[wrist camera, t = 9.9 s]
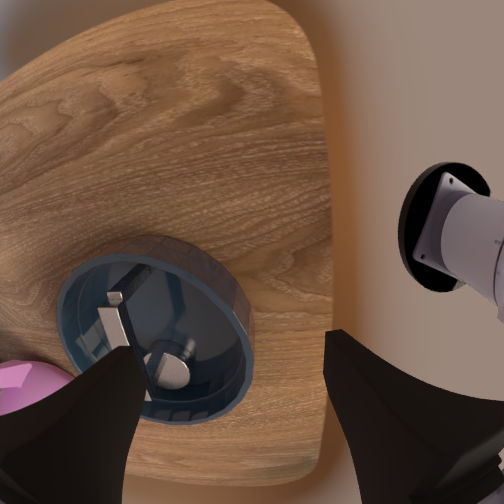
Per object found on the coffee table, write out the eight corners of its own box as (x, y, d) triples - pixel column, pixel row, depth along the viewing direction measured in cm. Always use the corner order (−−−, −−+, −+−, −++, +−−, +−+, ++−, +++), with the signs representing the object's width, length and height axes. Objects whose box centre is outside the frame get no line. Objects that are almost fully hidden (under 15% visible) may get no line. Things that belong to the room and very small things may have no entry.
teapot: (153, 459, 28) (133, 531, 16) (71, 443, 29) (44, 497, 17) (66, 323, 21) (-9, 406, 10) (-7, 326, 22) (-63, 377, 11)
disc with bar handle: (198, 377, 22) (184, 433, 16) (154, 376, 22) (133, 427, 16) (171, 259, 19) (137, 300, 13) (120, 263, 19) (76, 301, 13)
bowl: (282, 271, 19) (289, 302, 15) (225, 405, 23) (220, 442, 19) (95, 209, 18) (58, 222, 14) (85, 353, 22) (63, 382, 18)
